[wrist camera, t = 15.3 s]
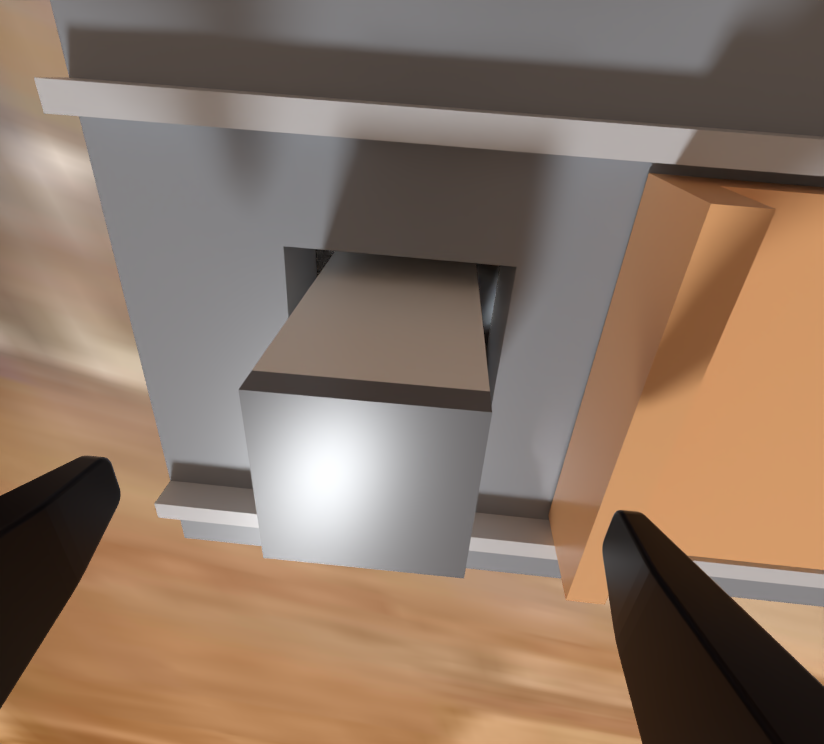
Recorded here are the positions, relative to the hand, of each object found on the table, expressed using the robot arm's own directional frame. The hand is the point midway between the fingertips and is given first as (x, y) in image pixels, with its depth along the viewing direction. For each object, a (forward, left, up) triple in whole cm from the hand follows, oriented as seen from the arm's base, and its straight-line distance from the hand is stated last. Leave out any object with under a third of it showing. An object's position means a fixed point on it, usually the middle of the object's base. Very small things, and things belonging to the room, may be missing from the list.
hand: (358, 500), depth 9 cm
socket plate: (-4, 0, -8) cm, 9 cm away
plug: (0, 0, -8) cm, 8 cm away
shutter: (-9, 0, -5) cm, 10 cm away
